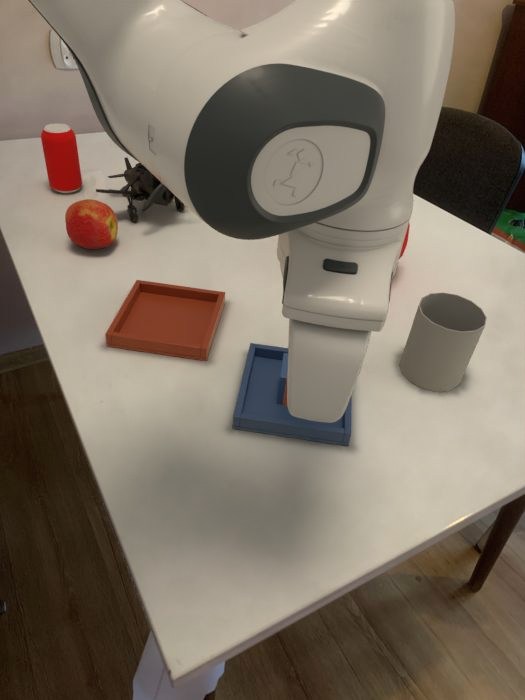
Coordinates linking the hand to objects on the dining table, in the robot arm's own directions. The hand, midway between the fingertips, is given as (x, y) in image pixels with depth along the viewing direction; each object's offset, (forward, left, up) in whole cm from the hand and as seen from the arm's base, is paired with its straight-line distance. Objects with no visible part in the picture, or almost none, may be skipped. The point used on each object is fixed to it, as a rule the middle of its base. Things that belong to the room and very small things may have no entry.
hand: (311, 379), depth 48 cm
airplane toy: (-33, +58, -16) cm, 69 cm away
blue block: (-1, +13, -15) cm, 20 cm away
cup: (+17, +22, -16) cm, 32 cm away
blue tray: (-1, +13, -16) cm, 21 cm away
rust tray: (-20, +24, -16) cm, 35 cm away
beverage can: (-51, +62, -16) cm, 82 cm away
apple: (-38, +42, -16) cm, 59 cm away
